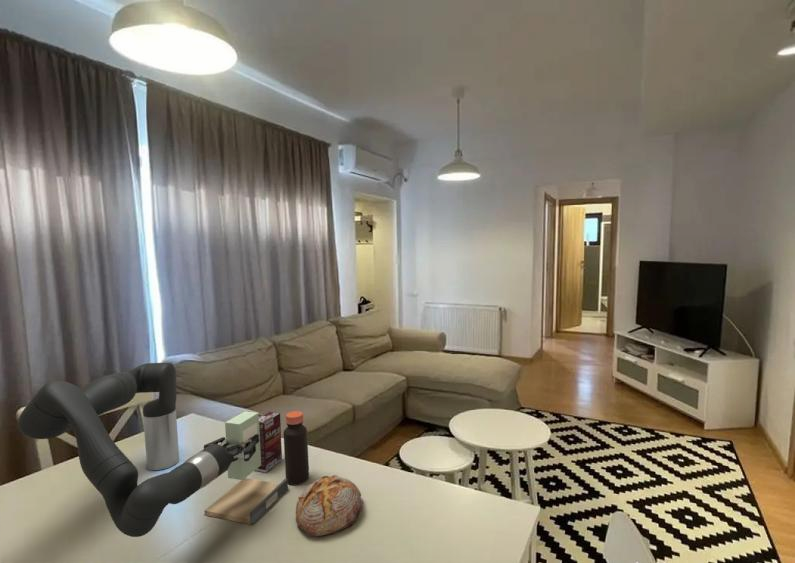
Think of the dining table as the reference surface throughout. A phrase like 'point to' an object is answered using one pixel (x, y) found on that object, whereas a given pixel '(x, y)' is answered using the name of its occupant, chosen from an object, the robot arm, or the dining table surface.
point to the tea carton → (240, 432)
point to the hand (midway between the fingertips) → (249, 436)
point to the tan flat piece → (247, 500)
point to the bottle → (296, 449)
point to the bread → (328, 506)
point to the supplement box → (270, 441)
